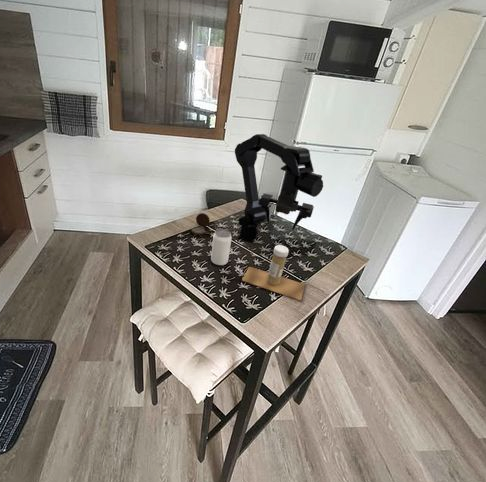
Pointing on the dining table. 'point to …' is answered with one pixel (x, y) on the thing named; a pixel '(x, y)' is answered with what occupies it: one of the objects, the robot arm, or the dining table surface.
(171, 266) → the dining table surface
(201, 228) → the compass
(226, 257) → the can
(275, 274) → the sprinkles bottle
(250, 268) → the front mat
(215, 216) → the dining table surface
